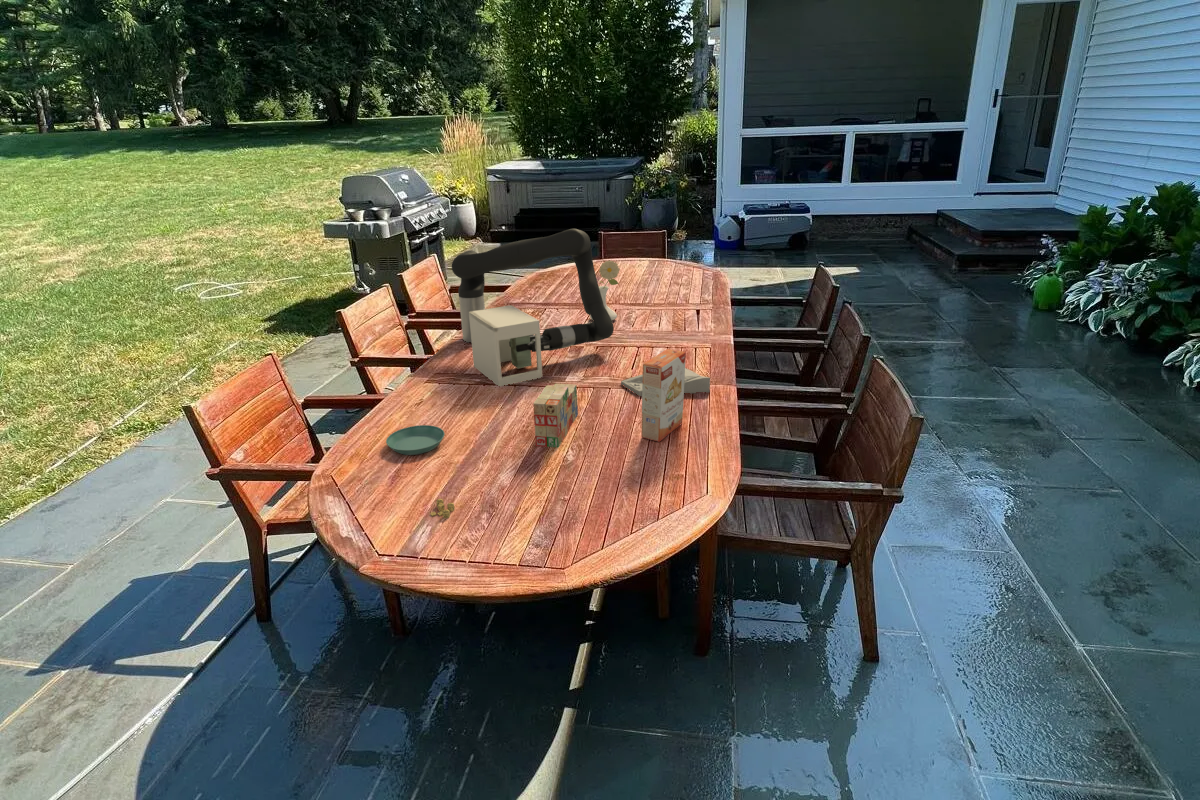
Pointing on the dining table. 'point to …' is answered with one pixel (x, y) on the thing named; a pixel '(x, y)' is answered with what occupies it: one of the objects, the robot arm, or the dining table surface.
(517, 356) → the sage block
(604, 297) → the flower in vase
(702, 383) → the ramp
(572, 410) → the stack of blocks
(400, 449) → the saucer
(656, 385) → the cracker box
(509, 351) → the cubby
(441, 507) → the dice set
